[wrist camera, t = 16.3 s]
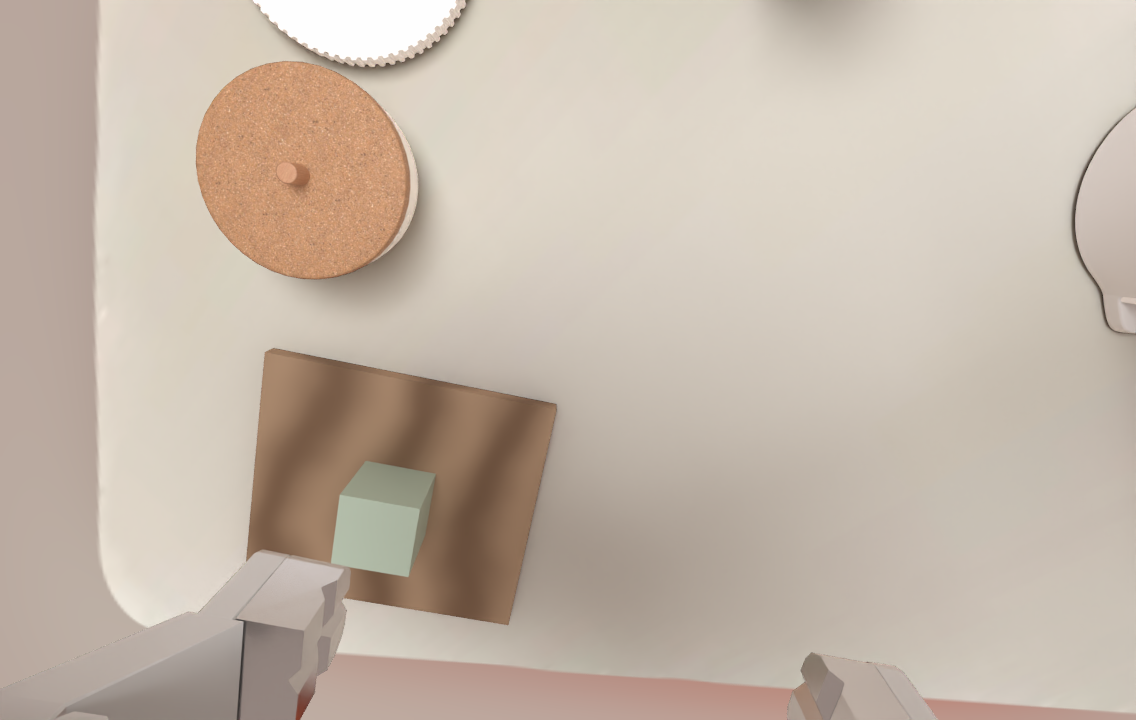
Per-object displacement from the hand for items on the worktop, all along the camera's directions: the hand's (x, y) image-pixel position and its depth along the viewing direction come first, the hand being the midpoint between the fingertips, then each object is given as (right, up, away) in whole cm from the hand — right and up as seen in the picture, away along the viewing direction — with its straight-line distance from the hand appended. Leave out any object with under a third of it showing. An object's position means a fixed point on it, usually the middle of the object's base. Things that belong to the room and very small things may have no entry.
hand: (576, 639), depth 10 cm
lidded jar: (-14, +16, +27) cm, 34 cm away
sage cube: (-13, -5, +31) cm, 33 cm away
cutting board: (-13, -5, +32) cm, 35 cm away
